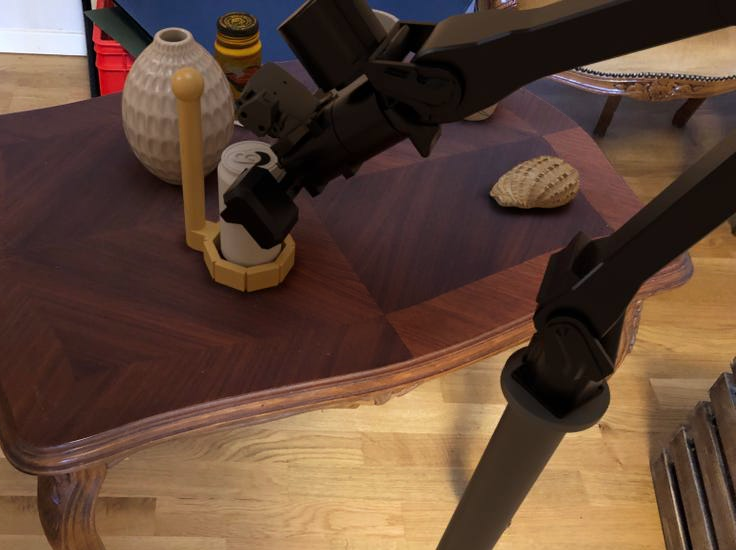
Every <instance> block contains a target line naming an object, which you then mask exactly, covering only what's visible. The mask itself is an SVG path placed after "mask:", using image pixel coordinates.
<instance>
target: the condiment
mask: <svg viewBox="0 0 736 550" xmlns="http://www.w3.org/2000/svg"><path fill="white" fill-rule="evenodd" d="M215 36H216V39H215V40H214V43H213V55H214V56H213V57H214V59H215V60H216V61H217V62H218V64H219V65H220V67H221V69H222V70H223V72H224V74H225V76H226V78H227V80H228V82H229V85H230V88H231V91H232V94H233V101H234V112H235V122H234V125H237V126H240V127H243V128H245V127H244V126H243V125H241V124H240V123H239V121H238V118H237V113H236V110H235V107H236V105H235V100H236V99H237V98H238V97H239V96H240V95H241V94H242V93H243V91H244V89H245V87H246V85H247V83H248V81H249V79H250V78H251V77H252V76H253V75H254V74H255V73H256V72H257V71H258V70H259V69H260V68H261V67H262V59H263V53H262V51H263V49H262V42H261V39H260V22H259V20H258V17H256V16H255V15H254V14H253V15H252V14H250V13H248V12H245V11H232V12H227V13H225V14H221V16H219V17H218V18H217V20H216V34H215Z"/></svg>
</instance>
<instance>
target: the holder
mask: <svg viewBox="0 0 736 550" xmlns="http://www.w3.org/2000/svg"><path fill="white" fill-rule="evenodd" d="M171 87H172V91H173V93H174V95H175V96H176V98H177V111H178V126H179V140H180V155H181V169H182V184H183V185H182V195H183V197H182V198H183V211H184V212H183V213H184V226H185V239H186V245H187V246H188V247H189V248H191V249H193V250H196V251H199V252H201V253H203V260H204V262H205V265H206V267H207V269H208V271H209V273H210V276H211V278H212V280H214V281H215V282H216V283H219V284H221V285H224V286H227V287H230V288H233V289H234V290H238V291H241V292H245V291H246V292H247V293H250V292H254V291H258V290H262V289H267V288H273V287H276V286H278V285H279V284H281V283H282V282H283V281H284V279H285V278H286V276H287V275H288V273H289V272H290V271H291V269H292V267H293V266H294V265H295V256H296V242H295V240H294V239H293V237H292V235H291V234H290V233H289V234H288V236H287V237H286V238H285V240H284V241H283V243H281V251H280V254H279V256H278V257H277V258H276V260H275V261H273V262H272V263H267V264H262V265H258V266H253V267H249V268H245V267H243V266H240V265H237V264H234V263H231V262H229V261H228V260H226V259H223V258H221V256H220V254H219V251H221V235H220V220H219V221H217V222H214V221H210V220H208V219H207V218H206V201H205V200H206V197H205V194H206V193H205V178H204V170H203V145H202V121H201V96H202V94H203V91H204V80H203V77H202V76H201V74H200V73H199V72H198V71H197V70H195V69H193V68H189V67H185V68H182V69H179V70H178V71H177V72H176V73H175V74H174V76H173V78H172V82H171Z"/></svg>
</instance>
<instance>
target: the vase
mask: <svg viewBox="0 0 736 550" xmlns="http://www.w3.org/2000/svg"><path fill="white" fill-rule="evenodd" d="M185 67H189V68H193V69H195V70H197V71H198V72H199V73H200V74H201V76H202V77H203V80H204V91H203V94H202V96H201V121H202V145H203V170H204V179H205V178H206V177H207V176H209V175H210V174H211V173H212V172H213V171H214V170H216V168H218V165H219V163H220V161H221V156H222V153H223V151H224V150H225V149H226V148H227V147H229V146H231V141H232V139H233V135H234V130H235V124H234V122H235V112H234V101H233V94H232V91H231V88H230V85H229V82H228V80H227V78H226V76H225V74H224V72H223V70H222V69H221V67H220V65H219V64H218V62H217V61H216V60H215V59H214V56H213V55H212V54H211V53H210V52H209V51H208V50H207V49H206V48H205V47H204V46H203V45H201V44H199V42H197V41H196V40H195V39H194V36H193V34H192V33H191V31H190V30H187V29H186V28H181V27H167V28H163V29H161V30H159V31H157V32H155V34H154V37H153V40H152V42H151V43H150V44H149V45H148V46H146V47H145V48H144V49H143V50H142V51H141V53H140V54H139V55H138V56H137V57H136V59H135V61H134V62H133V63H132V65H131V67H130V69H129V71H128V74H127V76H126V78H125V82H124V84H123V89H122V95H121V119H122V125H123V130H124V134H125V137H126V139H127V142H128V144H129V147H130V149H131V151H132V152H133V154H134V155H135V156H136V158H137V160H138V161H139V162H140V163H141V164H142V165H143V167H144V168H145V169H146V170H147V171H149V172H150V173H151V174H152V175H154V176H155V177H157V178H158V179H159V180H161V181H163V182H165V183H167V184H170V185H174V186H183V184H182V169H181V155H180V140H179V126H178V111H177V98H176V96H175V95H174V93H173V91H172V87H171V82H172V78H173V76H174V74H175V73H176V72H177V71H178V70H179V69H182V68H185Z"/></svg>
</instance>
